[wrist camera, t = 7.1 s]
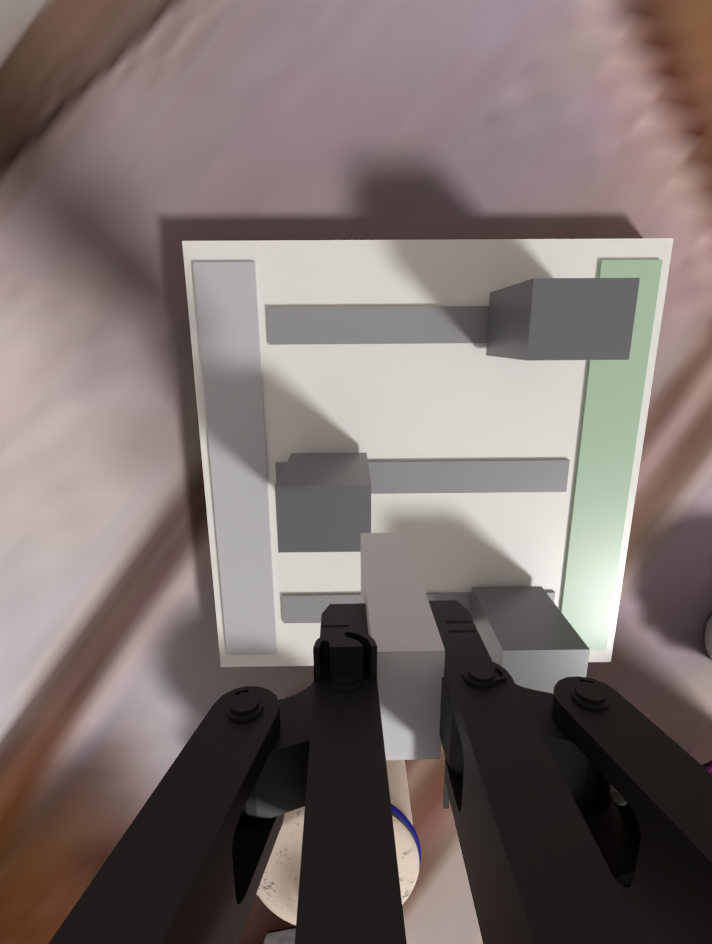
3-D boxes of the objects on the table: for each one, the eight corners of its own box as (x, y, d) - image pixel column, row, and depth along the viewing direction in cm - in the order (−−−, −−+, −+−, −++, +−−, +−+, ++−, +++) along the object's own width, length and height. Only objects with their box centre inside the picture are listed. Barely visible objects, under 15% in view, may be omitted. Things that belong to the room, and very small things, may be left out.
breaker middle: (293, 506, 27) (278, 552, 21) (291, 453, 26) (274, 485, 20) (366, 505, 27) (371, 551, 21) (366, 452, 26) (371, 484, 20)
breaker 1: (486, 355, 25) (526, 360, 19) (489, 292, 24) (533, 278, 18) (564, 354, 25) (628, 359, 19) (570, 292, 24) (640, 277, 18)
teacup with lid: (337, 652, 32) (330, 820, 21) (431, 733, 34) (471, 927, 23) (217, 759, 34) (152, 962, 23) (311, 829, 36) (293, 1050, 25)
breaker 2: (469, 632, 29) (498, 705, 23) (472, 587, 28) (503, 650, 23) (536, 631, 29) (582, 704, 23) (541, 586, 28) (590, 649, 23)
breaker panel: (228, 647, 32) (219, 669, 30) (194, 248, 26) (180, 239, 24) (595, 642, 32) (612, 663, 30) (649, 245, 26) (676, 237, 24)
